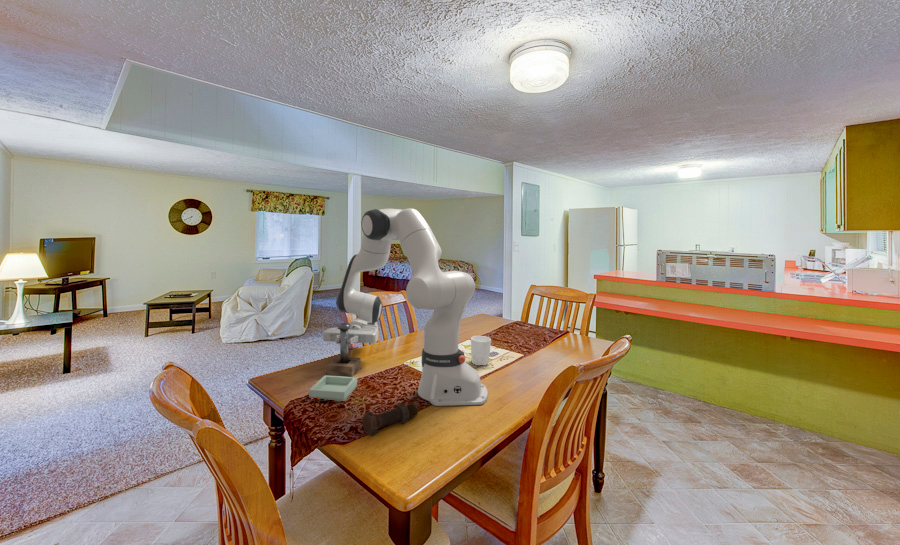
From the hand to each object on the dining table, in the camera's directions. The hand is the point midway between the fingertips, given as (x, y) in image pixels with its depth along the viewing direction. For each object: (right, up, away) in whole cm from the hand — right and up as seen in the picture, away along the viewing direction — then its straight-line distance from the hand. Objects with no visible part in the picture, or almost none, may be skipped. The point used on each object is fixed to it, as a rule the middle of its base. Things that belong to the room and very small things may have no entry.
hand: (343, 341), depth 126 cm
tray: (+1, -13, -14) cm, 19 cm away
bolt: (+22, -17, -31) cm, 42 cm away
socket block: (0, -11, +2) cm, 12 cm away
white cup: (+50, -12, +15) cm, 53 cm away
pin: (0, -9, +2) cm, 9 cm away
